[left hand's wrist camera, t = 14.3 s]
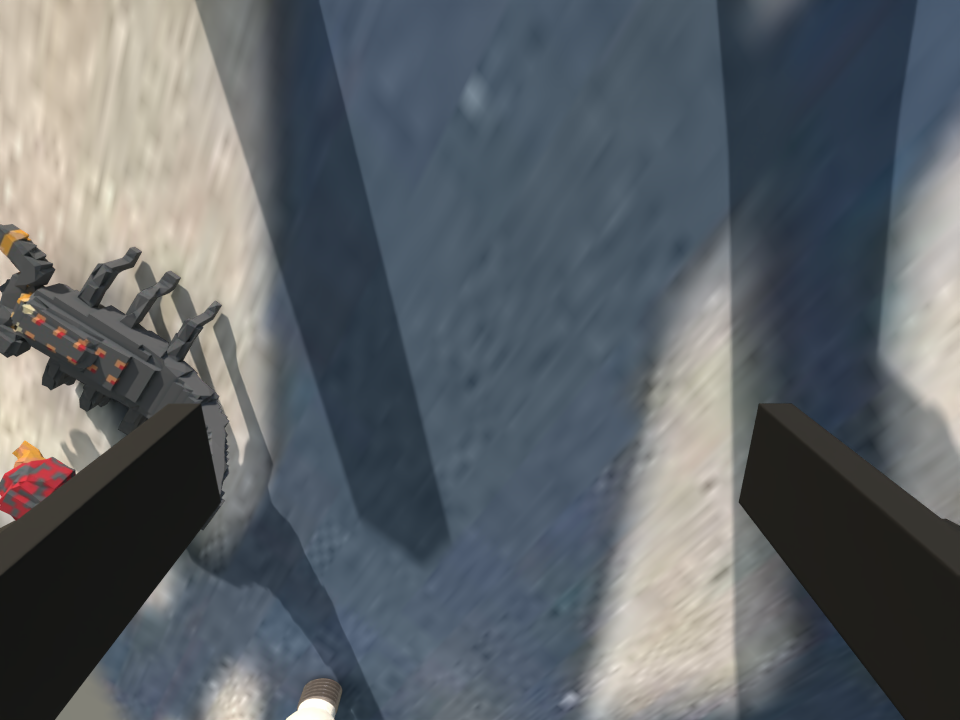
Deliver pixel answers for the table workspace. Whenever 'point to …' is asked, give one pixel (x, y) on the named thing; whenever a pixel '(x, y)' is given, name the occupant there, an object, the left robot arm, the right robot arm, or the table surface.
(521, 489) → the table surface
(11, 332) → the toy
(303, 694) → the light bulb
